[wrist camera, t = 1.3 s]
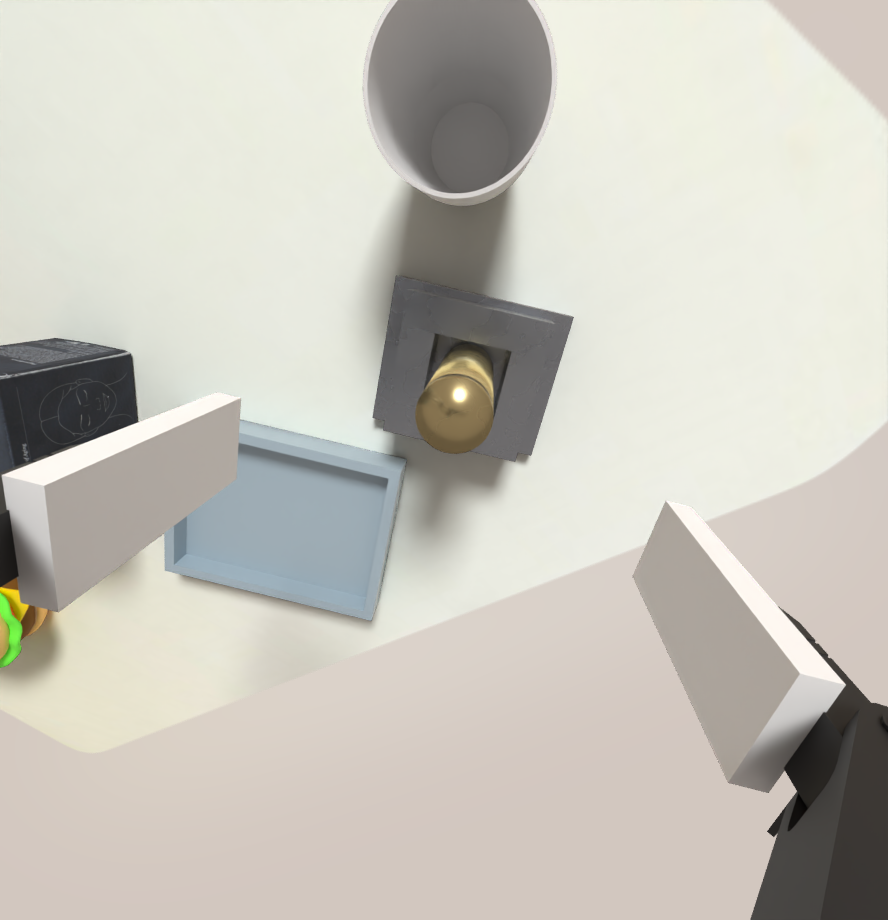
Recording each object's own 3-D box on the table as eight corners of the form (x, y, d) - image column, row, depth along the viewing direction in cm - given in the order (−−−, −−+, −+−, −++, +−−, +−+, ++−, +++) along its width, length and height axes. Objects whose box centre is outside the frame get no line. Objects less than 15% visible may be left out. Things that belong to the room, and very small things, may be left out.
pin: (436, 389, 33) (408, 443, 22) (447, 338, 32) (423, 369, 21) (486, 401, 33) (482, 461, 22) (498, 350, 32) (502, 387, 21)
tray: (183, 554, 42) (164, 570, 40) (184, 406, 37) (163, 414, 34) (378, 601, 42) (371, 620, 39) (406, 459, 37) (401, 471, 34)
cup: (547, 201, 29) (572, 165, 20) (424, 239, 31) (394, 221, 22) (521, 47, 27) (535, -77, 18) (387, 96, 28) (336, 6, 19)
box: (51, 335, 36) (-113, 355, 26) (134, 350, 36) (-1, 375, 26) (70, 462, 40) (-66, 520, 30) (145, 476, 40) (32, 540, 30)
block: (375, 414, 36) (360, 432, 31) (398, 275, 32) (384, 274, 28) (530, 450, 35) (535, 473, 31) (571, 316, 32) (583, 321, 27)
